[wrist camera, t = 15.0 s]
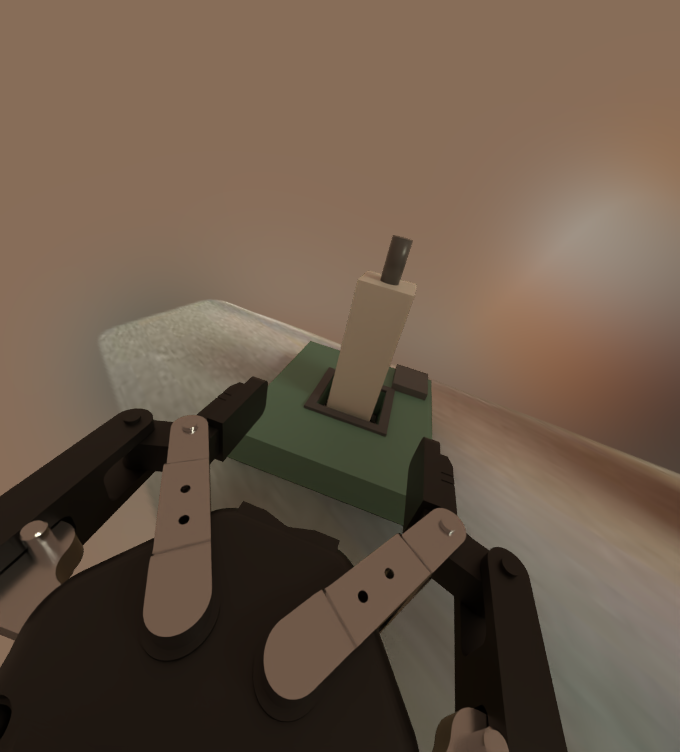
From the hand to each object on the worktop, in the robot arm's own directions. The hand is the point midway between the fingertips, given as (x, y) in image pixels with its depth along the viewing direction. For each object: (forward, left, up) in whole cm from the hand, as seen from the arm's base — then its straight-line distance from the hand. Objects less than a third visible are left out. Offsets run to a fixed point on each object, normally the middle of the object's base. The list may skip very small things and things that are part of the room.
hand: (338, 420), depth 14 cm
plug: (0, -11, -9) cm, 14 cm away
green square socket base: (0, -11, -9) cm, 14 cm away
